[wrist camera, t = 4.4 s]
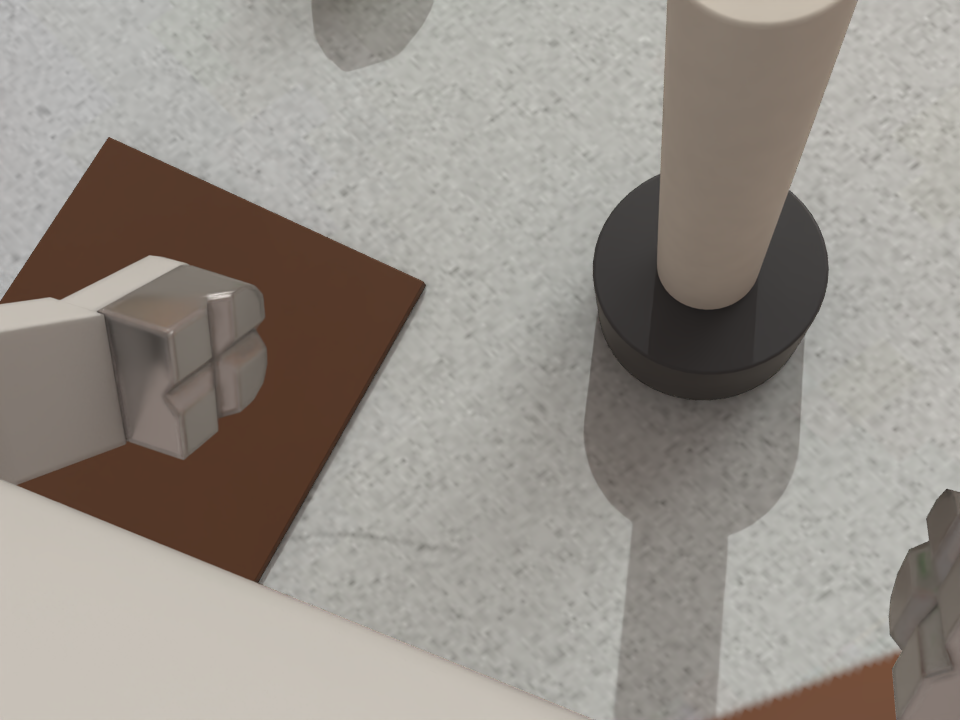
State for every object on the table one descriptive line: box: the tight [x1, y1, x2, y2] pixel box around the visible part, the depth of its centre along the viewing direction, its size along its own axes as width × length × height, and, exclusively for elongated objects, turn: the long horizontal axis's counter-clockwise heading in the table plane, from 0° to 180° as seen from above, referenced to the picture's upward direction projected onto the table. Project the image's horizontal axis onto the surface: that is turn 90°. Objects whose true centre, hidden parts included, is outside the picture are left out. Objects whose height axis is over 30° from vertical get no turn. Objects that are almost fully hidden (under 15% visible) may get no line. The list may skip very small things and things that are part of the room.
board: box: [0, 137, 426, 583], centre depth 26 cm, size 14×14×1 cm
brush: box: [593, 0, 858, 400], centre depth 17 cm, size 6×6×14 cm
